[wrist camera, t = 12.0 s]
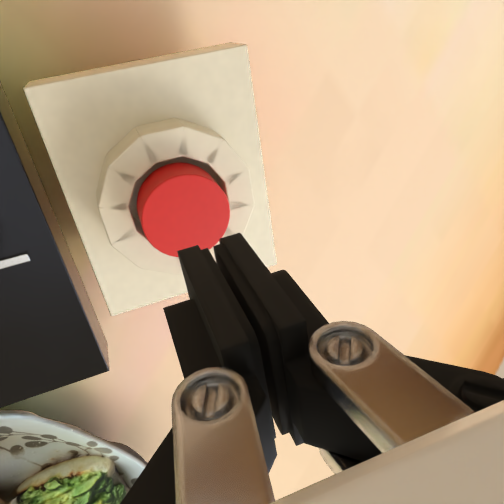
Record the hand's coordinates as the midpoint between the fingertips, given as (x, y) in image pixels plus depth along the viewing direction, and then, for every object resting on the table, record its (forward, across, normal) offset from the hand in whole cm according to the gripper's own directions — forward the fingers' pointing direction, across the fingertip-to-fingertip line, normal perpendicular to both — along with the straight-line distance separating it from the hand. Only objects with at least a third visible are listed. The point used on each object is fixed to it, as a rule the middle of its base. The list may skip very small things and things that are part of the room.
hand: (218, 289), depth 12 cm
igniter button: (+8, 0, +1) cm, 8 cm away
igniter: (+12, 0, +1) cm, 12 cm away
